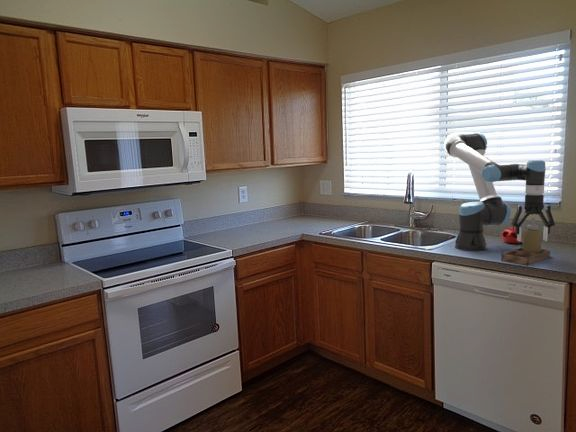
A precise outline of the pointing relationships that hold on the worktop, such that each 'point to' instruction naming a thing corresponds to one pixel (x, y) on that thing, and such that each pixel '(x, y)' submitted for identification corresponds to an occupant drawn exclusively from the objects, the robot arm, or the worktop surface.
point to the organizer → (524, 256)
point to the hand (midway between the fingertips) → (531, 240)
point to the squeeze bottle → (532, 238)
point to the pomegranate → (510, 236)
